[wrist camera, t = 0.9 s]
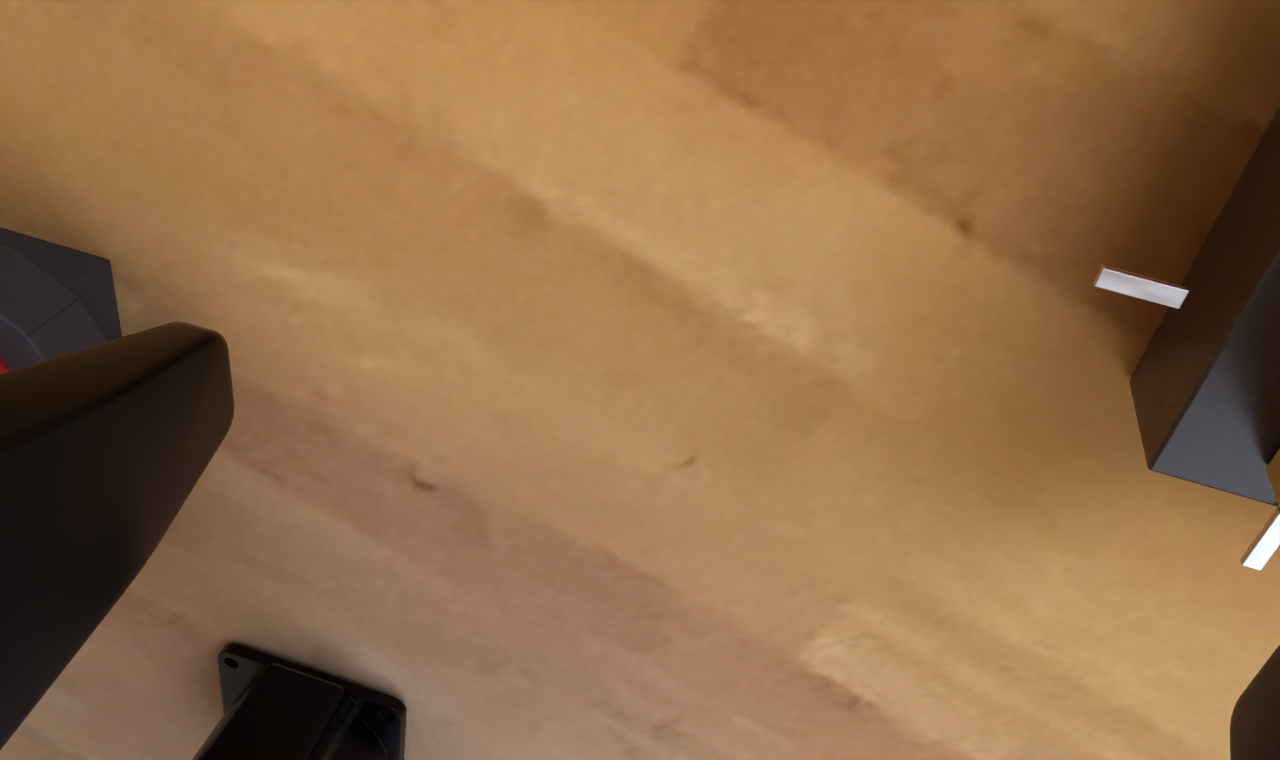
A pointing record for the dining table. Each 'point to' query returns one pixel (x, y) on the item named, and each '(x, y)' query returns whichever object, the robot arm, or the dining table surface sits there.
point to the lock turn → (1275, 475)
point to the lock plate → (1219, 351)
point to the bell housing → (52, 300)
